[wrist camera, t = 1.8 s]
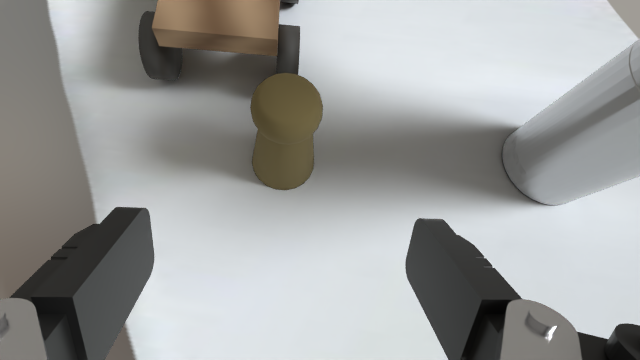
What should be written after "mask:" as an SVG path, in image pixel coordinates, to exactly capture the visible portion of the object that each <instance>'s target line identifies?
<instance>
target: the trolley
mask: <svg viewBox="0 0 640 360" xmlns="http://www.w3.org/2000/svg"><path fill="white" fill-rule="evenodd" d="M298 1H299V0H281V2H287V3H296V4H298ZM279 8H280V0H158V2H157V7H156V11H155V12H149V11H147V12H145V13H144V14H143V15H142V17H141V20H140V25H139V49H140V55H141V60H142V63H143V66H144V69H145V71H146V73H147V74H148V76H149V77H150V78H152V79H163V80H177V79H178V77H179V75H180V72H181V67H182V48H188V49H199V50H211V51H222V52H234V53H245V54H257V55H268V56H277V74H280V73H292V74H297V75H298V65H299V47H300V26H291V25H281V24H279ZM278 27H279V28H278ZM277 46H278V48H277Z"/></svg>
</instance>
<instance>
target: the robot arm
mask: <svg viewBox="0 0 640 360" xmlns="http://www.w3.org/2000/svg"><path fill="white" fill-rule="evenodd" d="M502 156H503V163H504V167H505V170H506V172H507V174H508V176H509V178H510V179H511V181H512V182H513V183H514V184H515V186H516V187H517V188H518V189H519V190H520V191H521V192H522V193H524V194H525V195H527V196H528V197H530V198H531V199H533V200H535V201H538V202H540V203H544V204H548V205H560V204H565V203H568V202H570V201H573V200H576V199H579V198H581V197H584V196H587V195H590V194H592V193H595V192H598V191H601V190H604V189H606V188H609V187H612V186H614V185H617V184H620V183H623V182H625V181H628V180H631V179H634V178H636V177H639V176H640V39H639V40H637V41H636V42H634V43H633V44H632V45H630V46H629V47H628V48H626V49H625V50H624V51H622V52H621V53H620V54H618V55H617V56H616V57H614V58H613V59H611V60H610V61H609V62H607V63H606V64H605V65H603V66H602V67H601V68H599V69H598V70H597V71H595V72H594V73H593V74H591V75H590V76H589V77H587V78H586V79H584V80H583V81H582V82H580V83H579V84H578V85H576V86H575V87H574V88H572V89H571V90H570V91H568V92H567V93H566V94H564V95H563V96H562V97H560V98H559V99H557V100H556V101H555V102H553V103H552V104H551V105H549V106H548V107H547V108H545V109H544V110H543V111H541V112H540V113H539V114H537V115H536V116H534V117H533V118H532V119H530V120H529V121H528V122H526V123H525V124H524V125H522V126H521V127H520V128H519V129H517V130H516V131H515V132H513V133H512V134H510V135H509V137H508V138H507V139H506V141H505V143H504V146H503V152H502ZM153 265H154V248H153V240H152V231H151V222H150V215H149V212H148V210H147V209H146V208H131V207H116V208H115V209H114V210H113V211H112V212H111V213H110V214H109V215H108V216H107V217H106V218H105V219H104V220H103V221H102V222H101V223H100V224H93V225H91V226H89V227H87V228H85V229H83V230H81V231H80V232H78V233H76V234H74V236H72V237H71V238H70V239H69V240H68V241H67V242H66V243H65V244H64V245H63V246H62V249H59V250H58V251H57V252H56V253H55V254H54V255H53V256H52V257H51V260H48V261H47V262H46V263H45V264H44V265H42V266H41V268H39V269H38V270H37V272H35V273H34V274H33V275H32V276H31V277H30V278H29V279H28V280H27V281H26V282H25V283H24V284H23V285H22V286H21V287H20V288H19V289H18V290H17V291H16V292H15V293H14V294H13V295H12V296H11V297H10V298H7V299H0V360H105V358H106V356H107V355H108V353H109V351H110V349H111V347H112V345H113V343H114V342H115V340H116V338H117V336H118V334H119V332H120V331H121V328H122V327H123V325H124V323H125V321H126V320H127V318H128V316H129V314H130V312H131V310H132V309H133V307H134V305H135V303H136V301H137V299H138V297H139V296H140V294H141V292H142V290H143V288H144V286H145V285H146V283H147V281H148V279H149V277H150V275H151V273H152V269H153ZM406 274H407V278H408V280H409V282H410V284H411V286H412V288H413V290H414V292H415V294H416V296H417V298H418V300H419V302H420V304H421V306H422V308H423V310H424V312H425V314H426V316H427V318H428V320H429V322H430V324H431V326H432V328H433V330H434V332H435V334H436V336H437V338H438V340H439V342H440V344H441V346H442V348H443V350H444V352H445V354H446V356H447V358H448V360H640V326H639V325H634V324H620V325H618V326H616V328H615V329H614V331H613V333H612V334H611V336H610V338H609V339H605V338H600V337H596V336H592V335H588V334H584V333H580V332H577V331H576V330H575V328H574V327H573V325H572V324H571V323H570V322H569V321H568V320H567V319H566V318H564V317H563V316H562V315H561V314H559V313H558V312H556V311H555V310H553V309H551V308H549V307H547V306H545V305H543V304H540V303H538V302H535V301H531V300H525V299H522V298H521V297H520V296H519V295H518V294H517V293H516V291H515V290H514V289H513V288H512V287H511V286H510V285H509V284H508V283H507V281H506V280H505V279H504V278H503V277H502V276H501V275H500V274H499V272H498V271H497V270H496V269H495V268H492V265H491V264H490V262H489V261H488V260H487V259H486V258H484V256H483V255H482V253H481V252H480V251H479V250H478V249H477V248H476V247H475V246H474V245H473V244H472V243H470V242H469V241H467V240H466V239H464V238H463V237H461V236H459V235H456V233H455V232H454V231H453V230H452V229H451V228H450V226H449V225H448V224H447V223H446V222H445V221H444V220H443V219H422V218H419V219H417V220H416V222H415V224H414V228H413V232H412V237H411V241H410V245H409V249H408V253H407V257H406Z"/></svg>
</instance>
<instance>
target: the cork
mask: <svg viewBox="0 0 640 360" xmlns="http://www.w3.org/2000/svg"><path fill="white" fill-rule="evenodd" d="M250 108H251V114H252V119H253V122H254V124H255V125H256V127H257V128H258V130H257V136H256V141H255V147H254V152H253V159H252V165H253V169H254V172H255V174H256V175H257V177H258V179H259V180H260V181H262V182H263V183H264V184H265V185H267V186H269V187H271V188H274V189H279V190H288V189H293V188H296V187H298V186H300V185H302V184H303V183H304V182H305V181H306V180H307V179H308V178H309V177H310V175H311V173H312V170H313V164H314V152H313V133H314V132H315V131H316V129H317V128H318V126H319V123H320V121H321V118H322V110H323V105H322V101H321V97H320V94H319V92H318V91H317V89H316V88H315V87H314V85H313V84H312V83H311V82H309V81H308V80H307V79H305V78H304V77H301V76H299V75H297V74H292V73H280V74H275V75H273V76H270V77H268V78H266V79H265V80H264V81H263V82H262V83H260V84H259V85H258V86H257V88H256V90H255V92H254V93H253V96H252V100H251V107H250Z"/></svg>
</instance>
